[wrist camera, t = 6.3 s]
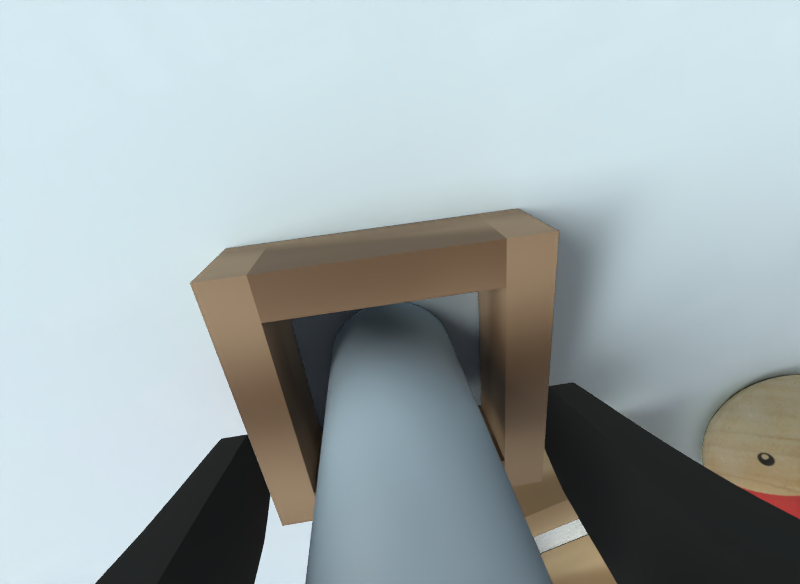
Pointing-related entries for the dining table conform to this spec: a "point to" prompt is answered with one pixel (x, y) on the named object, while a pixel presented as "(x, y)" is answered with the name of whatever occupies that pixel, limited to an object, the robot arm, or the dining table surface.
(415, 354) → the thick gray cylindrical peg
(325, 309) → the wooden square ring
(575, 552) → the light wooden square frame
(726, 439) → the ladybug figurine
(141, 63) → the dining table surface
